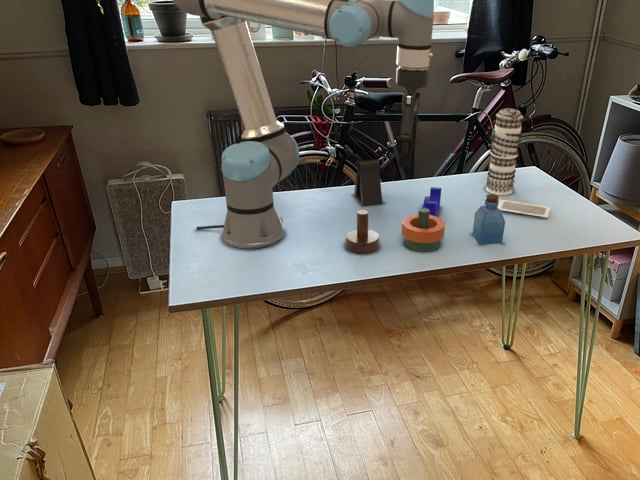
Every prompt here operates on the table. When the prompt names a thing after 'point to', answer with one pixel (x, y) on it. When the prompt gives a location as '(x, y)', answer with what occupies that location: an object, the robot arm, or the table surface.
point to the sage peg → (423, 224)
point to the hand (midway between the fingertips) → (407, 157)
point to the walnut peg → (362, 236)
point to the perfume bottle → (489, 222)
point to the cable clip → (433, 201)
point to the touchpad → (524, 208)
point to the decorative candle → (504, 151)
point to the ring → (420, 234)
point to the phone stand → (368, 182)
